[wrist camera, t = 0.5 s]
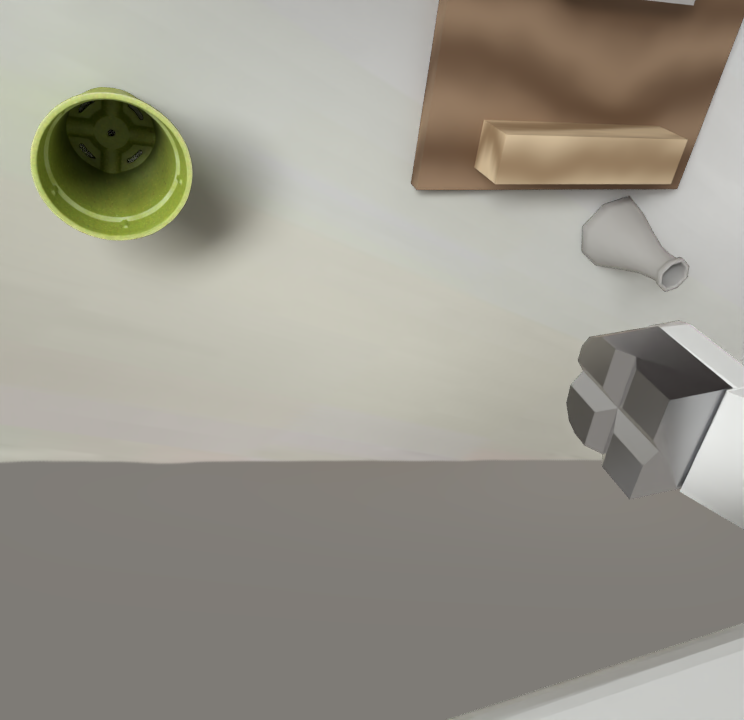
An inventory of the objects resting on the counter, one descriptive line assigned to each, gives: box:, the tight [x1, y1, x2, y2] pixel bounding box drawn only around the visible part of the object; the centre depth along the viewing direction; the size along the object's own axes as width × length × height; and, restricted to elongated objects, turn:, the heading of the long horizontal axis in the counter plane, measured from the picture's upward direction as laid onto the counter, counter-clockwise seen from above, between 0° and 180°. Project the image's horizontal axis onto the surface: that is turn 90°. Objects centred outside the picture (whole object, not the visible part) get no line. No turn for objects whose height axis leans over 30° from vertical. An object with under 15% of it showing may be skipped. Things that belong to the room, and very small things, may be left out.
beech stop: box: [474, 120, 688, 184], centre depth 58 cm, size 4×18×4 cm, turn 84°
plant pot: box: [30, 87, 193, 241], centre depth 45 cm, size 9×9×9 cm
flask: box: [582, 196, 689, 292], centre depth 65 cm, size 7×7×10 cm
